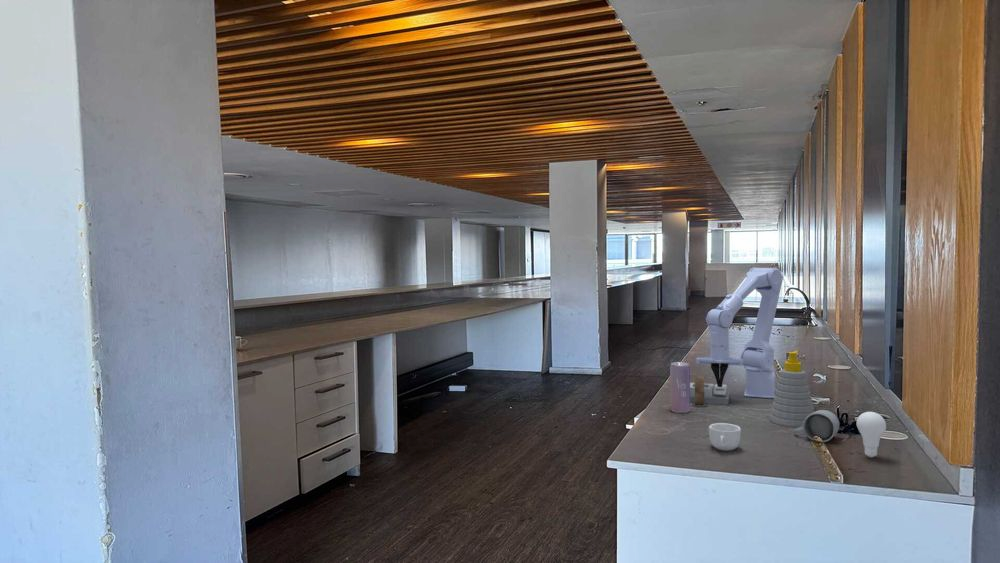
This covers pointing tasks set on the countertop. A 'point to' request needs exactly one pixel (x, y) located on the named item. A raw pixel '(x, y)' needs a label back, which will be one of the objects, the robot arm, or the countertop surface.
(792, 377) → the soap bottle
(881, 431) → the lightbulb
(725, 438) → the teacup
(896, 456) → the countertop surface
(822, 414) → the ceramic mug
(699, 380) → the dowel
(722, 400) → the grey fixture with socket
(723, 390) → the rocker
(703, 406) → the coaster
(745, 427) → the countertop surface
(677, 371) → the beverage can
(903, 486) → the countertop surface
